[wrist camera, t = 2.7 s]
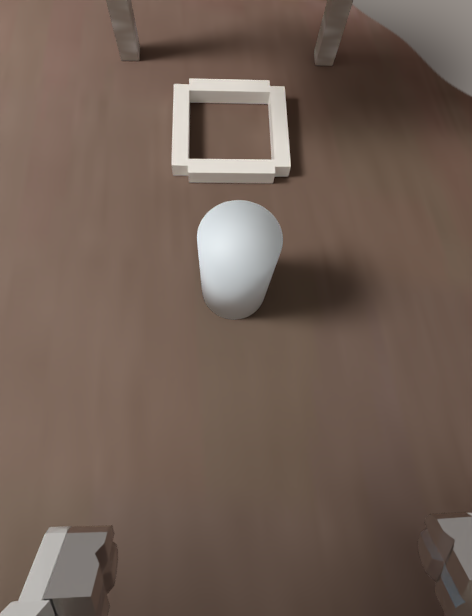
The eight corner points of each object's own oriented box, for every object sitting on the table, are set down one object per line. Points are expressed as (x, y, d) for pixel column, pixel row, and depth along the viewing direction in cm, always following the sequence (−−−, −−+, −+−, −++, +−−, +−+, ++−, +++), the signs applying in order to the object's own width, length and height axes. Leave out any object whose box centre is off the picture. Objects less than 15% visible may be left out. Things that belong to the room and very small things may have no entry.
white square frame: (172, 182, 30) (171, 172, 29) (175, 90, 32) (174, 78, 31) (288, 183, 30) (291, 173, 29) (281, 92, 33) (284, 80, 32)
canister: (201, 319, 27) (196, 277, 19) (202, 260, 28) (197, 199, 21) (266, 319, 27) (285, 277, 20) (263, 260, 28) (280, 200, 21)
